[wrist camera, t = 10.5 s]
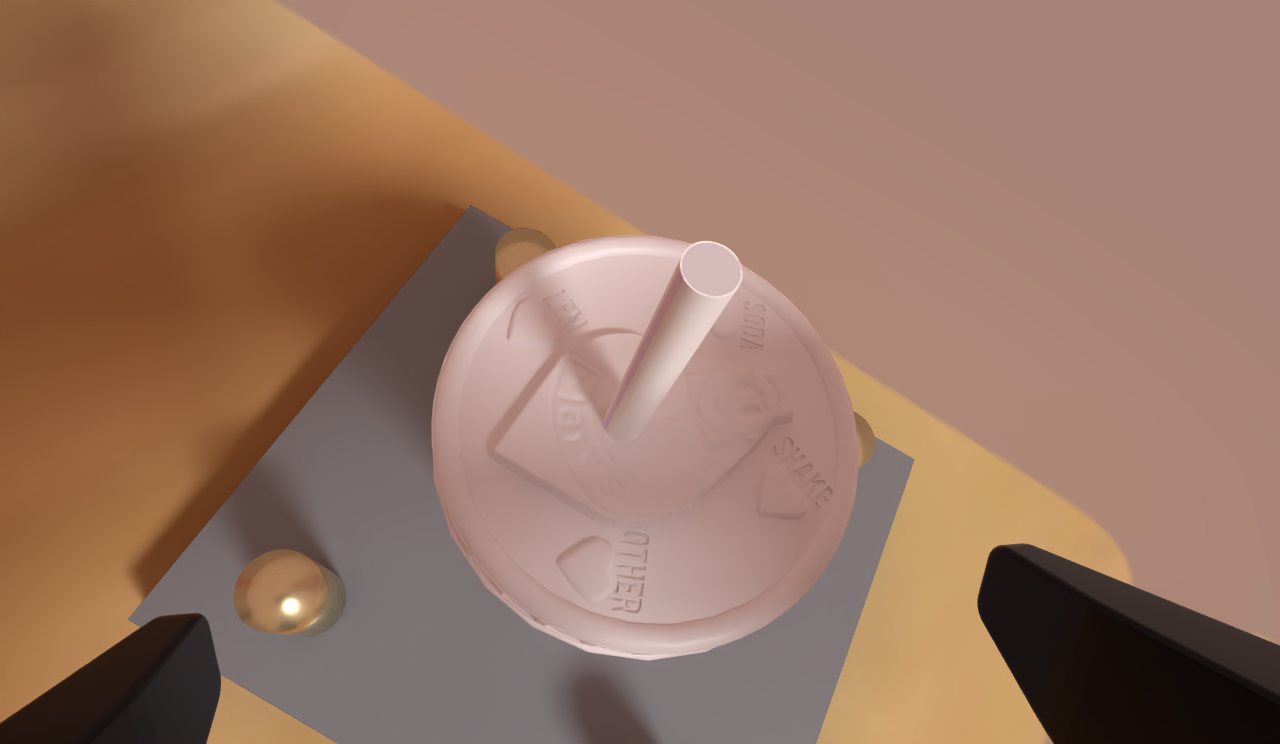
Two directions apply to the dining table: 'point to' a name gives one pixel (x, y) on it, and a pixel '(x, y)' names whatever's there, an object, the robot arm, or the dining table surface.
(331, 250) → the dining table surface
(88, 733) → the robot arm
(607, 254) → the smoothie
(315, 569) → the plate
